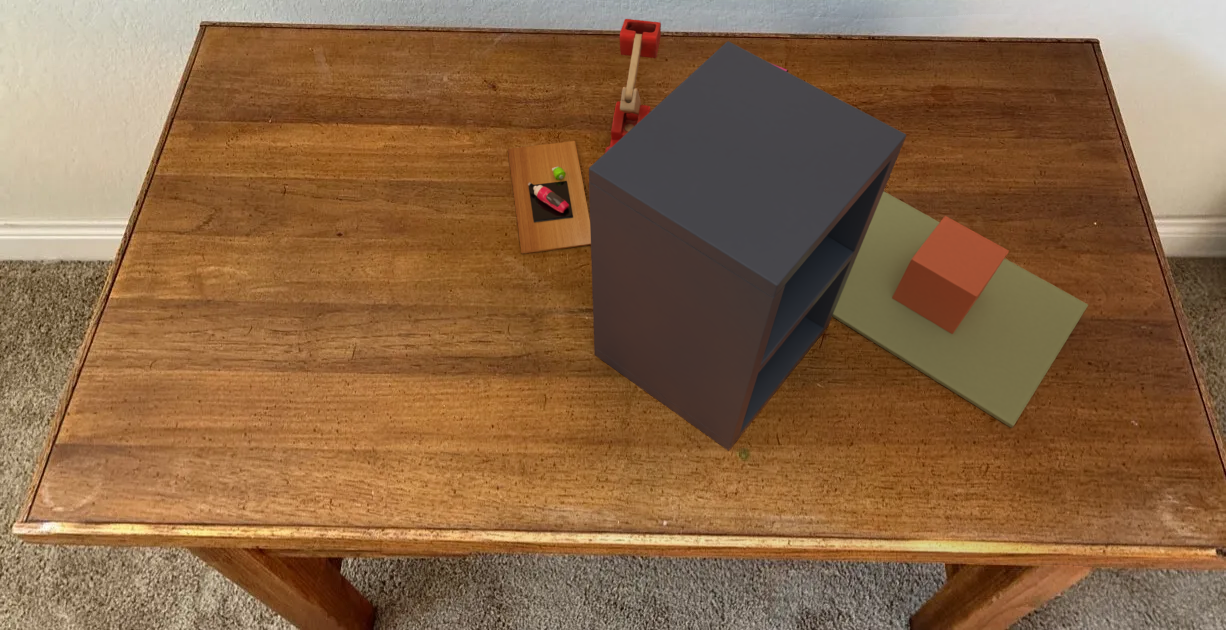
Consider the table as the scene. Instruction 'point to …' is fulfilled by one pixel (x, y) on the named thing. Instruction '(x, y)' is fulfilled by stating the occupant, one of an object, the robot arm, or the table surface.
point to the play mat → (984, 340)
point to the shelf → (730, 235)
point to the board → (549, 197)
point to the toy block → (949, 274)
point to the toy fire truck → (634, 74)
